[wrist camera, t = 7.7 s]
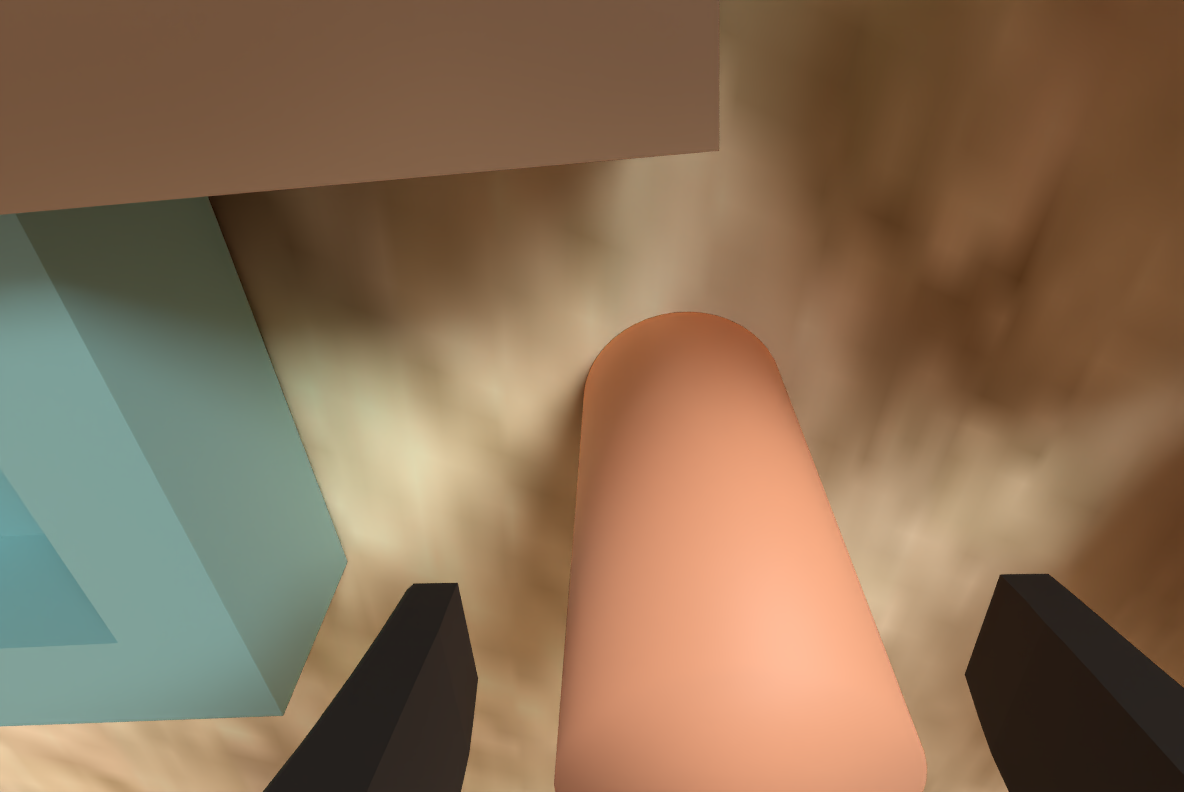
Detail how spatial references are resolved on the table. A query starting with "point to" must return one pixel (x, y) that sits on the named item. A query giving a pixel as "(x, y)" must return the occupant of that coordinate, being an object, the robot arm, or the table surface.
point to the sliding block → (147, 478)
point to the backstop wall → (338, 92)
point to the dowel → (715, 588)
